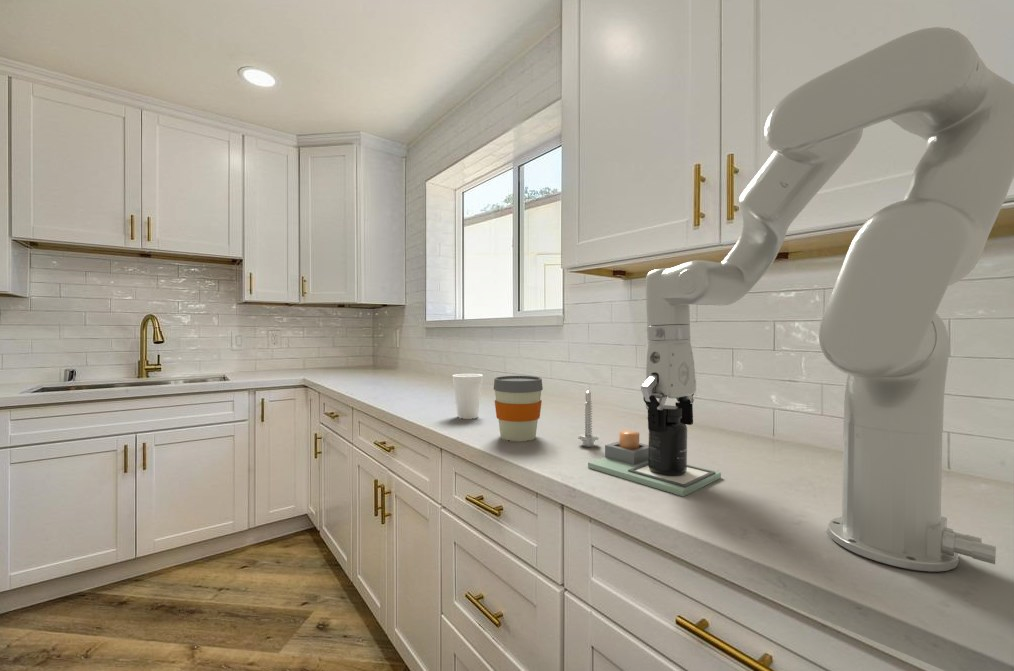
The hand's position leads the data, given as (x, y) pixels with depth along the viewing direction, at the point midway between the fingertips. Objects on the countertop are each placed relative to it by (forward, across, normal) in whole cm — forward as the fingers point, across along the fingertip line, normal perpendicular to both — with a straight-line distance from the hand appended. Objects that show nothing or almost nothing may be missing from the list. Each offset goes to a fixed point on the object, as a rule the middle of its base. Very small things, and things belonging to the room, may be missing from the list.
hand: (671, 427), depth 83 cm
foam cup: (+7, +4, +71) cm, 71 cm away
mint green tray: (+9, 0, +4) cm, 10 cm away
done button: (+7, +2, +11) cm, 13 cm away
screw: (+8, +6, +25) cm, 27 cm away
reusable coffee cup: (+8, -1, +42) cm, 43 cm away
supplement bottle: (+8, 0, +1) cm, 8 cm away
